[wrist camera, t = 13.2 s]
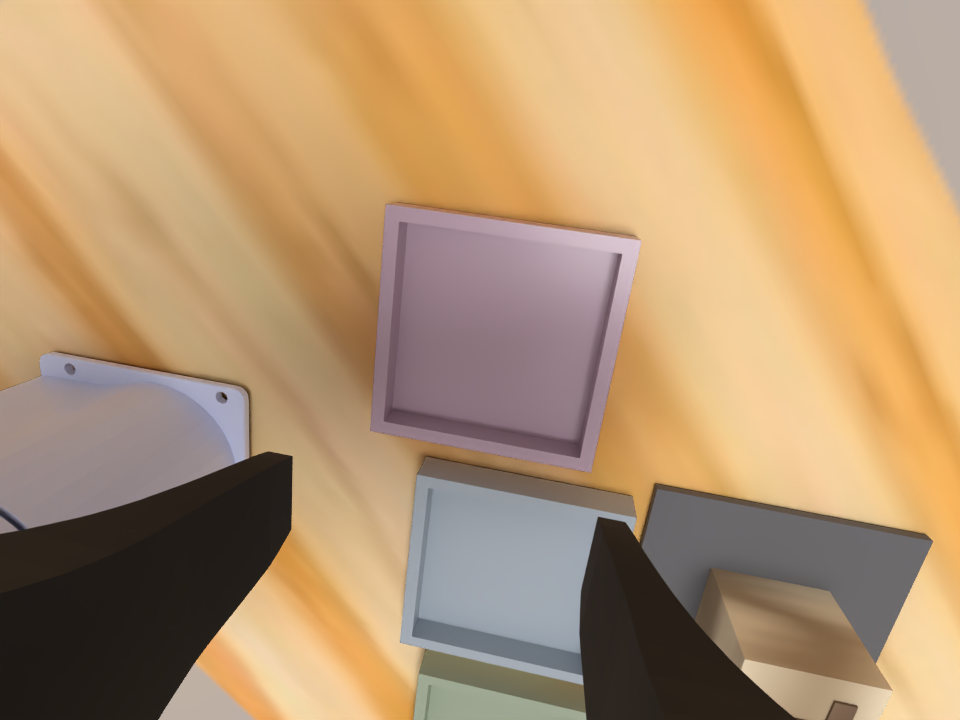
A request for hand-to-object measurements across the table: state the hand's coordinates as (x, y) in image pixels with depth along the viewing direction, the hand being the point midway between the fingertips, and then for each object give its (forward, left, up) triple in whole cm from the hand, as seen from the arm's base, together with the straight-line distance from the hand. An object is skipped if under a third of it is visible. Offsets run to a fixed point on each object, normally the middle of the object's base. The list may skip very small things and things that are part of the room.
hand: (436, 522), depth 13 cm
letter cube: (+12, -8, -9) cm, 17 cm away
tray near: (0, +2, -9) cm, 10 cm away
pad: (+12, -8, -9) cm, 17 cm away
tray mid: (+2, -8, -9) cm, 13 cm away
